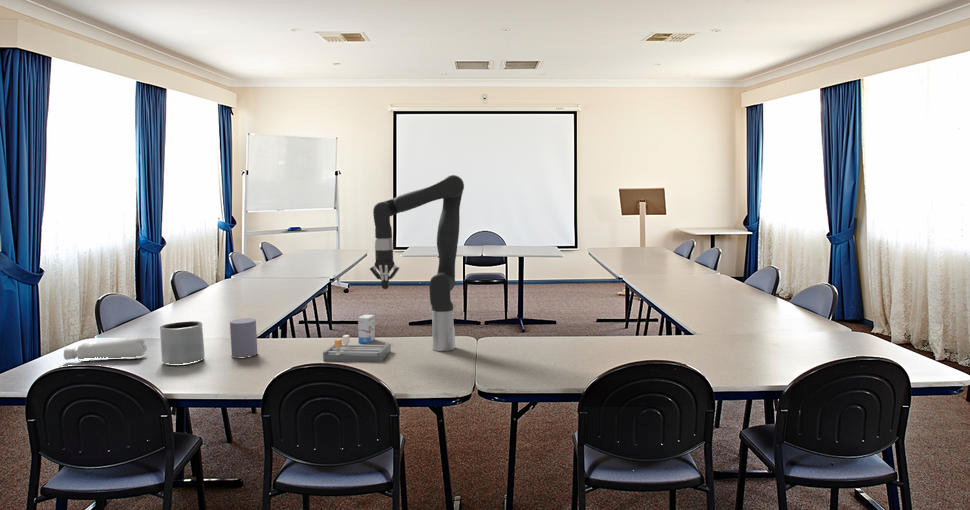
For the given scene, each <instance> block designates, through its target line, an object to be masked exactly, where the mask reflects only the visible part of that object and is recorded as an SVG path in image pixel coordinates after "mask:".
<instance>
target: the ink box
mask: <svg viewBox="0 0 970 510" xmlns="http://www.w3.org/2000/svg"><path fill="white" fill-rule="evenodd" d="M357 320H358V321H357V323H358V324H357V327H358V344H370V343H371V342H373V341H374V340H375V339H376V338H375V337H376V335H375V334H376V333H375V332H376V331H375V330H376V329H375V327H376V325H375V314H363V315H360V316H358V319H357Z"/></svg>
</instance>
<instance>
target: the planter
mask: <svg viewBox="0 0 970 510" xmlns="http://www.w3.org/2000/svg"><path fill="white" fill-rule="evenodd" d="M159 332H160V334H159V335H160V349H161V350H160V352H161V353H160V355H161V363H162V362H164V363H169V364H183V363H190V362H194V361H198V360H201V359H203V358H204V359H205V343H204V330H203V323H202V322H201V321H198V320H197V321H196V320H185V321H174V322H169V323H165V324H162V325H161V326H160V327H159ZM204 359H203V360H204ZM201 361H202V360H201ZM164 363H163V364H164Z"/></svg>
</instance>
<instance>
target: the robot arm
mask: <svg viewBox="0 0 970 510" xmlns="http://www.w3.org/2000/svg"><path fill="white" fill-rule="evenodd" d="M464 191H465V184H464V180H463V179H462V178H461V177H460V176H458V175H454V174H453V175H448V176H447V177H445V178H444V179H443V180H440V181H439V182H437V183H435V184H433V185H429V186H427V187H425V188H420V189H416V190H413V191H410V192H409V191H408V192H407V193H403V194H400V195H398V196H396V197H394V198H391V199H387V200H384V201H380V202H379V201H378V202H377V203H376V204H374V206H373V210H372V212H373V213H372V215H373V221H374V227H375V230H374V231H375V232H374V234H375V235H374V239H375V241H374V251H375V252H374V253H375V257H374V258H375V261H374V265H373V266H372V267H370V268H369V271H371V273H372V274H373V275H374V277H375V278H376V279H377V280H380V281H381V288H382V289H383V290H388V288H389V287H390V280H391V279H393V278H394V277H395V276H396V275H397V273H398V272H399V270H400V267H399V266H397V265H396V264H395V261H394V242H393V230H392V226H391V217H392V216H395V215H397V214H400V213H405V212H407V211H411V210H413V209H416V208H418V207H421V206H425V205H426V204H428V203H431V202H434V201H438V200H442V209H441V212H440V216H439V217H440V218H439V221H438V226H437V231H436V232H437V233H436V247H437V252H438V253H437V254H438V268H437V272H436V274H434V275H433V276H432V277H431V278H430V280H429V302H430V305H431V320H432V321H431V322H432V324H431V326H432V330H431V331H432V332H431V333H432V350H434V351H437V352H449V351H453V350H455V348H456V336H455V335H456V334H455V333H456V331H455V328H456V327H455V325H454V304H453V302H452V299H451V292H452V290H453V289H454V287H455V285H456V258H457V252H458V244H459V236H460V218H461V216H460V209H461V201H462V196H463V193H464ZM377 270H378V271H377ZM391 271H392V272H391ZM390 272H391V274H390Z"/></svg>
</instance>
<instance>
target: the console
mask: <svg viewBox="0 0 970 510" xmlns="http://www.w3.org/2000/svg"><path fill="white" fill-rule="evenodd" d="M391 352H392V351H391V343H387V344H348V347H345V344H342V347H340V351H337V348H335V343H334V344H333V345H331V346H330V347H328V348H326V350H325V351H323V352H322V359H323V361H325V362H326V361H328V362H373V363H374V362H375V363H376V362H382V361H383V360H384V359H385V358H386V357H387V356H388V355H389V354H390V353H391Z"/></svg>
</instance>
